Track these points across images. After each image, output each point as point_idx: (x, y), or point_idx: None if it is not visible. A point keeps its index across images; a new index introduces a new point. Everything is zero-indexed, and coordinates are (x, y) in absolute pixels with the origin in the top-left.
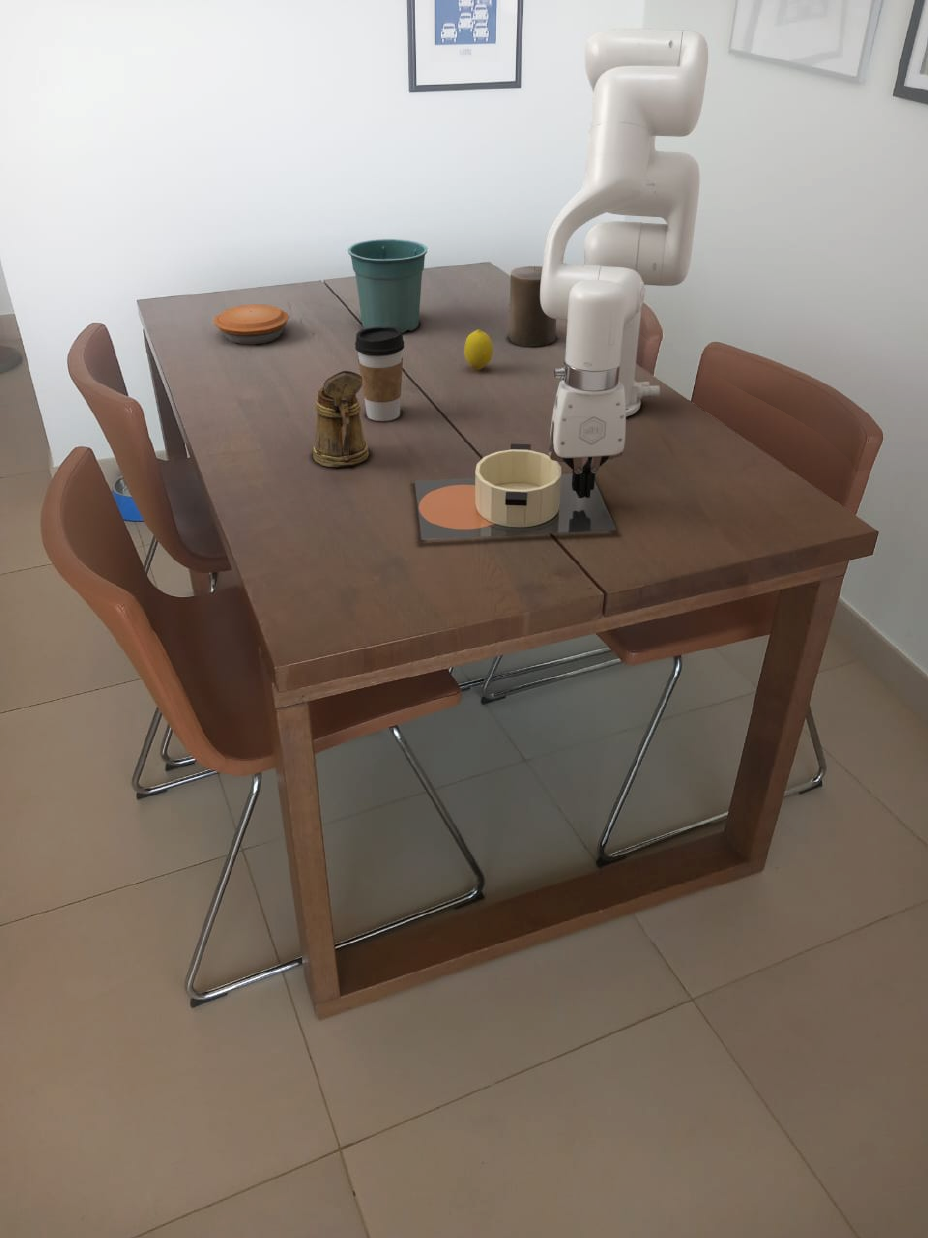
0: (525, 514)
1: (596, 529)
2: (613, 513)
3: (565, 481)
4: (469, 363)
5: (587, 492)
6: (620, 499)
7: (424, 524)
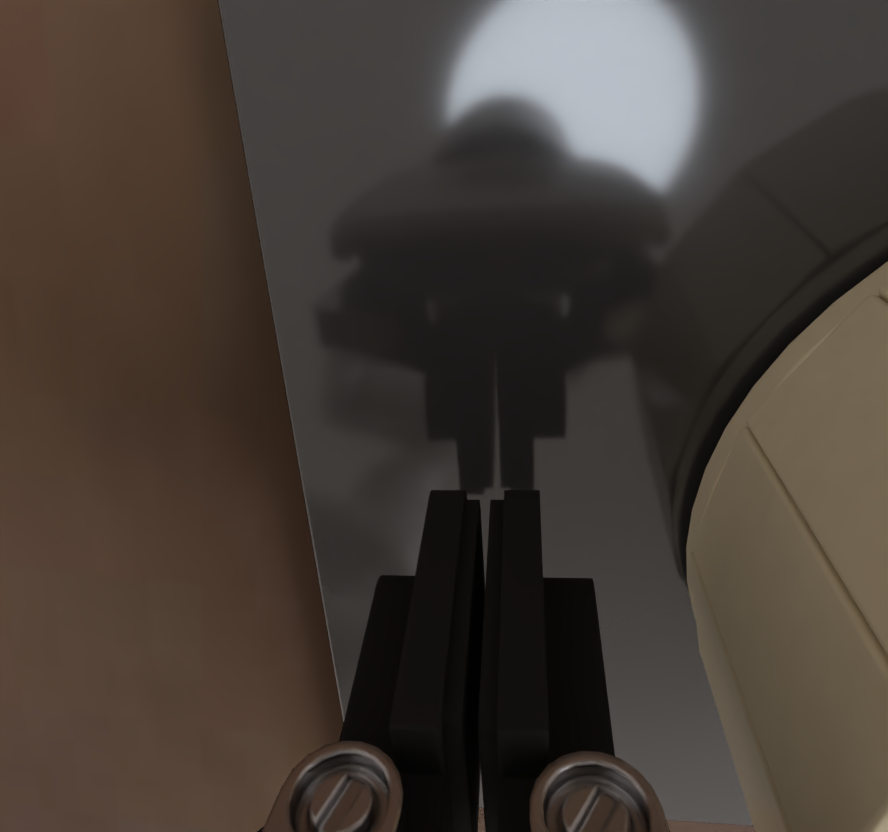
0: None
1: (433, 18)
2: (244, 385)
3: None
4: None
5: (457, 525)
6: (190, 550)
7: None
